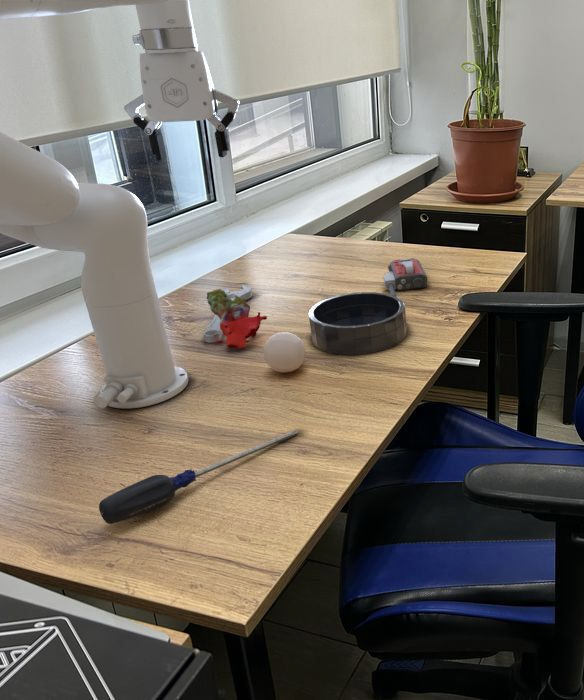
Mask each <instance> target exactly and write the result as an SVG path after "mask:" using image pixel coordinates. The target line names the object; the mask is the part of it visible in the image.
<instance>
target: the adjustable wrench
mask: <svg viewBox="0 0 584 700" xmlns="http://www.w3.org/2000/svg"><path fill="white" fill-rule="evenodd" d="M222 290H223V291H225V293H226V294H227V295H228V297H229V298H230V299H231V300H234V299H235V295H237V296H238V297H239V298H245V301H247V300H249V299H250V298H252V297H253V290H252V287H251V286H249V285H244V284H243V285H241V289H240V290H237V291H232V292H231V291H230V289H229V288H224V289H222ZM220 321H221V320H220V318H219V317H218V315H215V314H214V316H213V318H212V319H211V321H210V323H209V324H208V326H207V327H206V329H205V331H204V332H203V336H204V341H205V342H206V343H216V341H218V340H222V337H223V335H224V334H223V332H222V330H221V329H220ZM218 331H219V332H218Z"/></svg>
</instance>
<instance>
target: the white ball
mask: <svg viewBox="0 0 584 700" xmlns="http://www.w3.org/2000/svg"><path fill="white" fill-rule="evenodd" d="M263 356H264V360H265V362H266V364H267V366H268V367H270V368H271V369H272V370H273V371H276V372H279V373H291V372H294V371H295V370H298V369H299V368H300V367H301V366H302V364H304V361H305V359H306V356H307V352H306V345H305V344H304V342H303V340H302V339H301V338H300V337H299V336H297V335H296V334H295V333H291V332H288V331H281V332H276V333H275V334H273V335H271V336H270V337H269V338H268V339H267V340H266V341H265V344H264V347H263Z"/></svg>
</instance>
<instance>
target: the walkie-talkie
mask: <svg viewBox="0 0 584 700" xmlns="http://www.w3.org/2000/svg"><path fill="white" fill-rule="evenodd" d="M387 269H388V272H386V273H385V274H383V284H384V289H385V291H389V295H393V296H396V297H398V295H397V292H396V290H397V291H407V290H417V289H424V288H426V287H427V286H428V285H427V282H428V276H427V274H426V272H425V270H424V268H423V266H422V264H421V262H420V260H419V259H417V258H414V257H412V258H400V259H394V260H392V261H391V262H390V263H389V265H388V266H387Z"/></svg>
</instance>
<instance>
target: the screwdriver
mask: <svg viewBox="0 0 584 700" xmlns="http://www.w3.org/2000/svg"><path fill="white" fill-rule="evenodd" d="M298 433H299V431H298V430H292V431H290V432H287V433H285V434H282V435H280V436H277V437H275V438H273V439H271V440H268V441H265V442H264V443H261V444H259V445H256V446H254V447H251V448H249V449H247V450H244V451H242V452H239V453H237V454H234V455H232V456H230V457H228V458H226V459H223V460H221V461H218V462H216V463H214V464H211V465H209V466H207V467H204V468H202V469H198V470H197V471H195V470H193V469H185V470H184V471H183V472H180V473H177V474H176V475H175V476H172V477H171V476H168V475H166V474H153V475H151V476H148V477H146V478H144V479H142V480H139V481H136V482H134V483H133V484H130V485H128V486H126V487H124V488H122V489H120V490H118V491H116V492H114V493H112V494H110V495H108V496H106V497H104V498H103V499H101V500H100V502H99V504H98V510H99V513H100V516H101V518H102V520H103V521H104V522H105V523H106V524H109V525H113V524H117V523H121V522H123V521H127V520H130V519H132V518H135V517H138V516H140V515H143V514H146V513H149V512H151V511H154V510H156V509H159V508H161V507H164V506H165V505H167V504H168V503H169V502H171V501H172V499H173V498H174V497H175V495H176V494H175V493H176V492H177V491H178V490H181V489H182V488H186V487H189V485H190V484H192V483H193V482H196V481H197V478H198V477H201V476H203V475H206V474H208V473H210V472H212V471H215V470H218V469H219V468H222V467H225V466H226V465H229V464H231V463H235V462H236V461H238V460H241V459H243V458H246V457H248V456H250V455H252V454H255V453H257V452H259V451H262V450H265V449H267V448H269V447H271V446H273V445H276V444H279V443H281V442H284V441H286V440H288V439H290V438H292V437H294V436H296V435H297V434H298Z"/></svg>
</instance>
